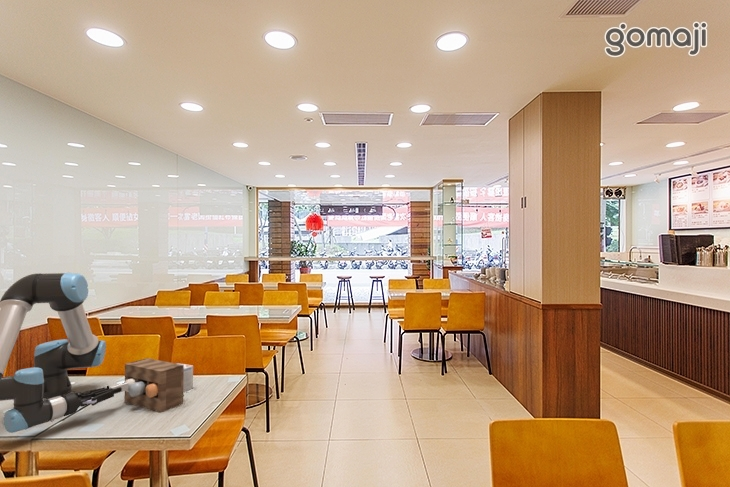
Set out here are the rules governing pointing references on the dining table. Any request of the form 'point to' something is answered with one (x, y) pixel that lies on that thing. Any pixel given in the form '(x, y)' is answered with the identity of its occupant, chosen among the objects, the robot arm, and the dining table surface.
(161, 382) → the panel
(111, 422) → the dining table surface
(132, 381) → the white button
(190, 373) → the light bulb box
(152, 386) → the orange button
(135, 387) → the grey button
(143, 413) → the dining table surface
